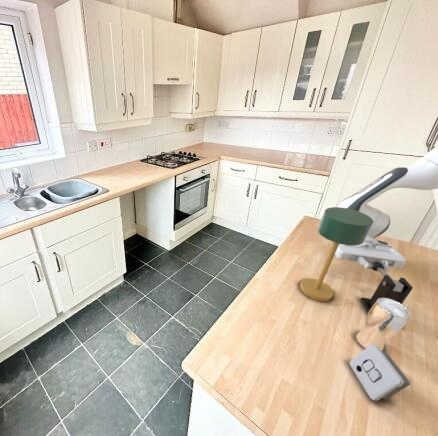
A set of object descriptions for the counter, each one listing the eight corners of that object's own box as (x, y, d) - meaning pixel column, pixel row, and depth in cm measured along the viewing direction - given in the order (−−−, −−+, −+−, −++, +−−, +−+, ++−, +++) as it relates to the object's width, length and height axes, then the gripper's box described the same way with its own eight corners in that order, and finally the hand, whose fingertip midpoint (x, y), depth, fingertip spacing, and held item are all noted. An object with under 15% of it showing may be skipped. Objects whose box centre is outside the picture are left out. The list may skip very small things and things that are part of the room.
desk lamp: (342, 296, 87) (382, 219, 72) (321, 308, 82) (358, 229, 67) (310, 275, 96) (339, 204, 81) (289, 285, 92) (316, 211, 77)
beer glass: (361, 351, 69) (385, 315, 62) (349, 330, 75) (370, 295, 68) (390, 356, 67) (418, 320, 60) (376, 334, 73) (400, 299, 66)
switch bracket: (360, 299, 85) (377, 269, 79) (384, 304, 83) (404, 273, 77) (372, 320, 78) (392, 289, 71) (399, 326, 76) (422, 294, 69)
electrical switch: (347, 362, 66) (365, 342, 62) (367, 365, 66) (386, 345, 61) (371, 401, 58) (393, 381, 53) (393, 405, 58) (418, 385, 53)
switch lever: (366, 267, 87) (370, 258, 86) (378, 268, 86) (381, 260, 85) (389, 291, 75) (393, 282, 73) (403, 293, 74) (407, 284, 72)
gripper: (332, 235, 97) (346, 256, 85) (395, 244, 91) (419, 267, 79) (327, 248, 100) (339, 270, 88) (387, 257, 94) (409, 281, 82)
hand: (377, 268), depth 84 cm, fingers closed on switch lever, 3 cm apart
